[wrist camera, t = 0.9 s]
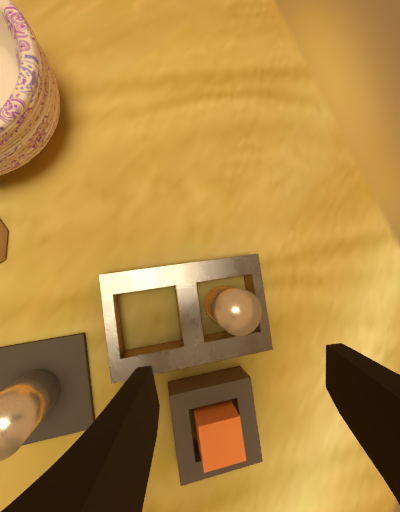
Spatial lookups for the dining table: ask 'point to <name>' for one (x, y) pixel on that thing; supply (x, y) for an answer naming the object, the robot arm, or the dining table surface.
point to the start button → (219, 435)
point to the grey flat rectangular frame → (182, 316)
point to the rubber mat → (69, 374)
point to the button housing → (204, 393)
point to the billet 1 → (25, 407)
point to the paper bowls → (24, 92)
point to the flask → (3, 241)
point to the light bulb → (234, 309)
